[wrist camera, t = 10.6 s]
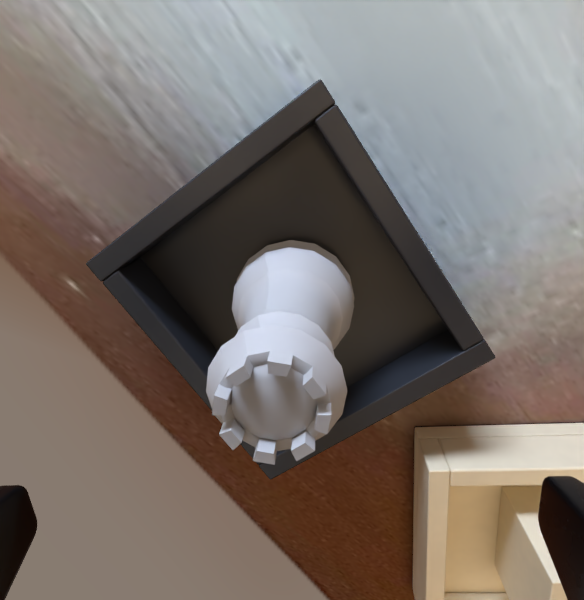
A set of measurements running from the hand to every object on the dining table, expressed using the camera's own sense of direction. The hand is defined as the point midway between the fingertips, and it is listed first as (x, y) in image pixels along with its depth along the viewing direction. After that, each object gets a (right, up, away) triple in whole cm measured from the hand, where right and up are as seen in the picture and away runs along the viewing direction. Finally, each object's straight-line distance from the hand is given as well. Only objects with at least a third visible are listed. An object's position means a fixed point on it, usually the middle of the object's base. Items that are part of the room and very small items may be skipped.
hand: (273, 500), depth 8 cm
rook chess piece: (0, +4, +9) cm, 10 cm away
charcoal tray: (0, +4, +10) cm, 11 cm away
